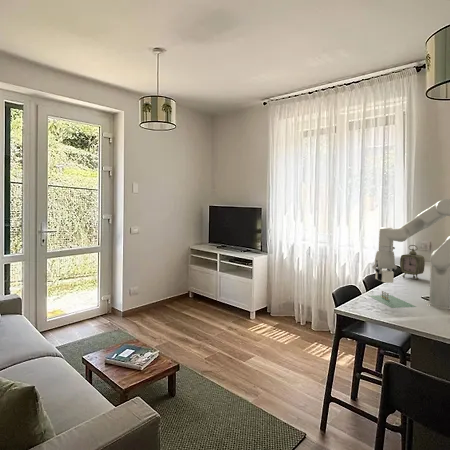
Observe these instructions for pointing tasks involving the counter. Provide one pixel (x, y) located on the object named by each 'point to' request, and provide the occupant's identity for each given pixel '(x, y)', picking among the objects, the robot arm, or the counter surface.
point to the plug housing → (386, 276)
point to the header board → (391, 301)
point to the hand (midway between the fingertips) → (384, 279)
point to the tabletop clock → (412, 263)
